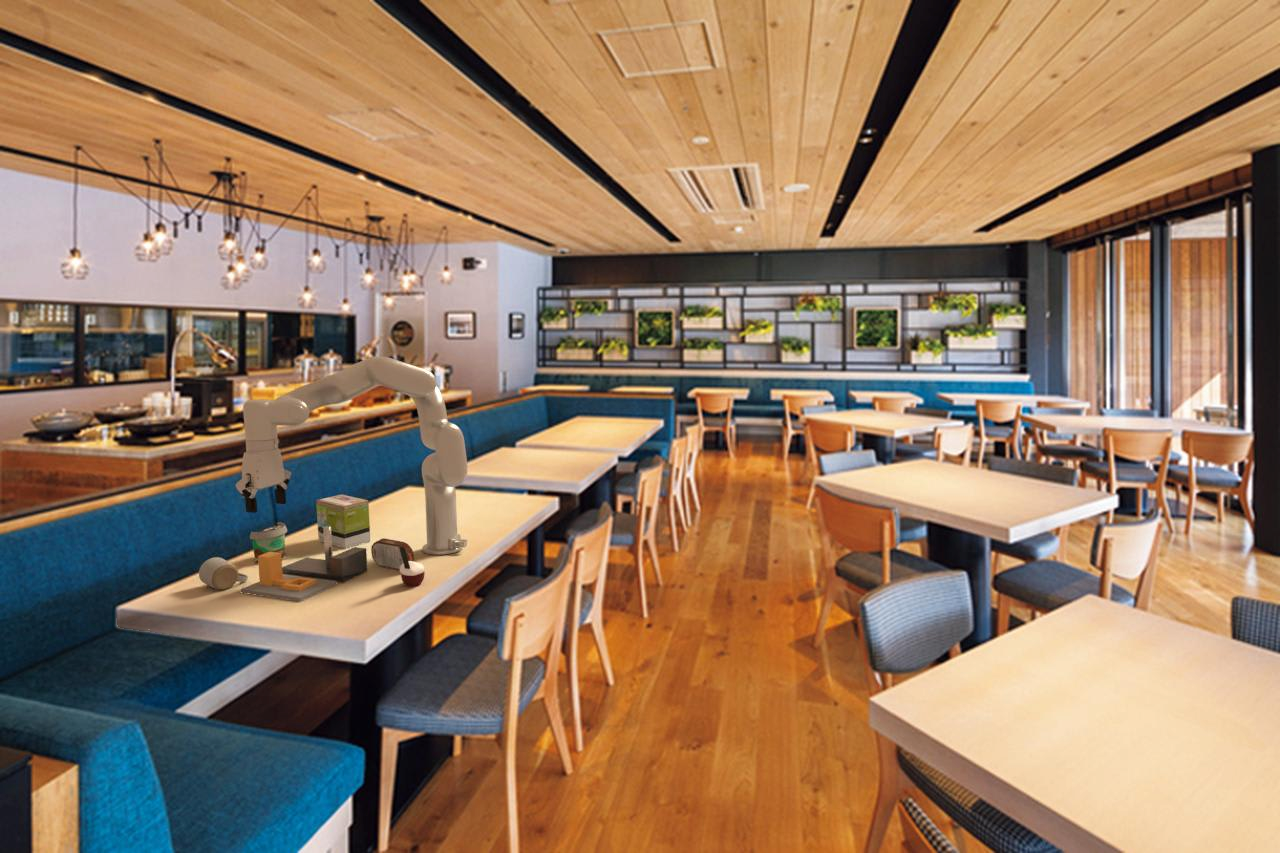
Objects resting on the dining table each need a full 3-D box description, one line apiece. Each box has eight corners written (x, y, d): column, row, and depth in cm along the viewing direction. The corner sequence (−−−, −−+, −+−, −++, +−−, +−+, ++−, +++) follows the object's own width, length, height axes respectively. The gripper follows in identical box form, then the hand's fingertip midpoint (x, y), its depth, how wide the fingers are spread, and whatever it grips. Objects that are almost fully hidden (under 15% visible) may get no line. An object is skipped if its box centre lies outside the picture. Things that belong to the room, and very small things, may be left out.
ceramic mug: (213, 594, 182) (211, 566, 181) (199, 587, 186) (197, 560, 185) (254, 583, 190) (252, 556, 189) (239, 577, 195) (238, 551, 194)
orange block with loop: (316, 583, 187) (314, 555, 186) (300, 591, 181) (298, 562, 180) (274, 578, 191) (272, 550, 190) (256, 585, 185) (254, 557, 184)
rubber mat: (336, 584, 189) (336, 580, 189) (300, 601, 177) (300, 597, 177) (279, 576, 195) (278, 573, 195) (240, 592, 183) (240, 589, 183)
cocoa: (418, 579, 195) (417, 537, 194) (432, 582, 191) (431, 540, 190) (389, 587, 187) (388, 544, 186) (404, 591, 183) (403, 547, 182)
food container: (269, 566, 204) (267, 533, 203) (251, 564, 206) (249, 532, 204) (297, 553, 216) (295, 522, 215) (280, 552, 218) (278, 521, 216)
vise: (367, 571, 200) (365, 525, 198) (343, 583, 190) (340, 534, 188) (306, 563, 206) (304, 519, 204) (280, 574, 197) (277, 527, 195)
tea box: (317, 542, 228) (314, 499, 226) (344, 535, 237) (341, 493, 235) (345, 549, 220) (342, 505, 218) (371, 541, 229) (369, 499, 227)
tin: (415, 570, 201) (414, 542, 200) (408, 573, 198) (406, 545, 197) (378, 562, 208) (376, 536, 206) (370, 566, 205) (368, 538, 204)
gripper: (276, 440, 192) (281, 499, 194) (223, 450, 176) (228, 514, 178) (298, 441, 190) (302, 501, 192) (245, 451, 173) (250, 516, 176)
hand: (266, 507), depth 185 cm, fingers open, 9 cm apart
